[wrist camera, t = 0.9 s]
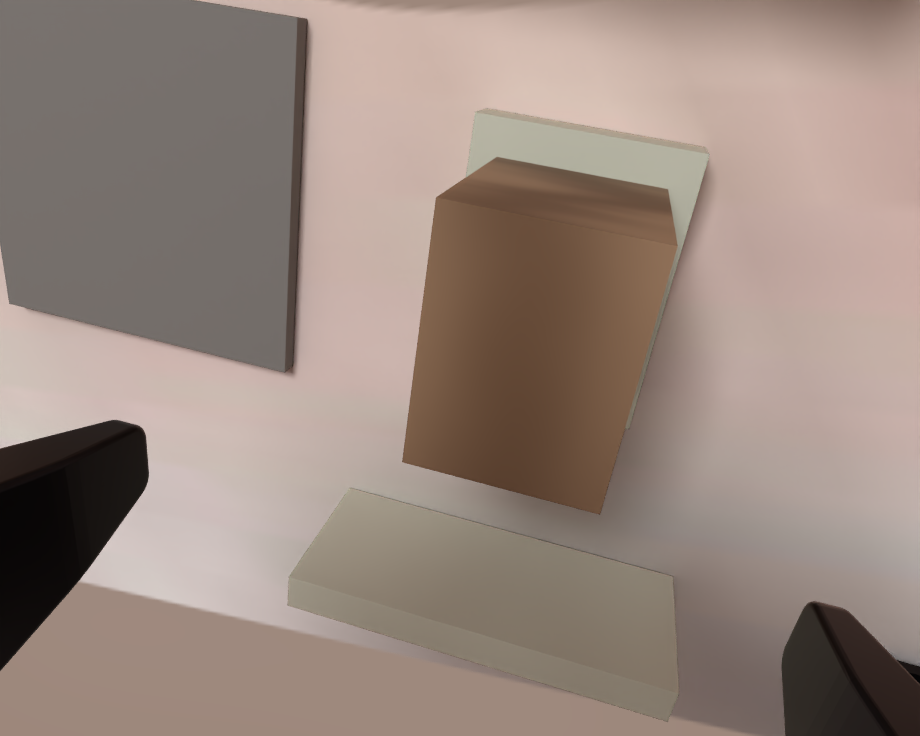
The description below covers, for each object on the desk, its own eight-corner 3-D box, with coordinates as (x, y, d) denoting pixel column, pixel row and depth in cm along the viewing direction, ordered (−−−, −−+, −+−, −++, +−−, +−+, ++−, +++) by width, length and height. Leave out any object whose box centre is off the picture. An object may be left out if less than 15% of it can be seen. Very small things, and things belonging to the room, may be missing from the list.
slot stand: (948, -175, 15) (1077, -272, 10) (663, 601, 25) (667, 721, 20) (413, -228, 17) (330, -332, 12) (347, 513, 26) (287, 605, 22)
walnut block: (668, 188, 18) (677, 246, 12) (611, 394, 20) (599, 514, 15) (497, 156, 18) (436, 197, 13) (463, 359, 21) (402, 461, 16)
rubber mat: (306, 19, 20) (297, 17, 19) (292, 365, 24) (284, 372, 24) (-26, -36, 21) (-43, -39, 21) (22, 298, 26) (9, 303, 25)
